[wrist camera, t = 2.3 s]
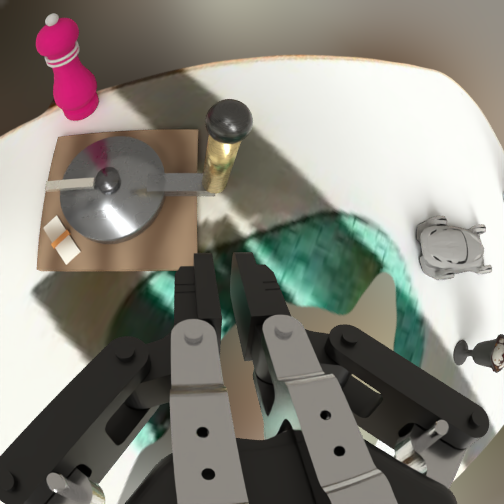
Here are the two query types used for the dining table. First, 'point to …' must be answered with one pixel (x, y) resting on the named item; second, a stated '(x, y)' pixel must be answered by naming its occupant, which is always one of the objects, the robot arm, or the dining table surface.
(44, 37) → the pepper mill
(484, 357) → the sundae
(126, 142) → the turntable
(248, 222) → the dining table surface
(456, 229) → the car model
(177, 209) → the stand
